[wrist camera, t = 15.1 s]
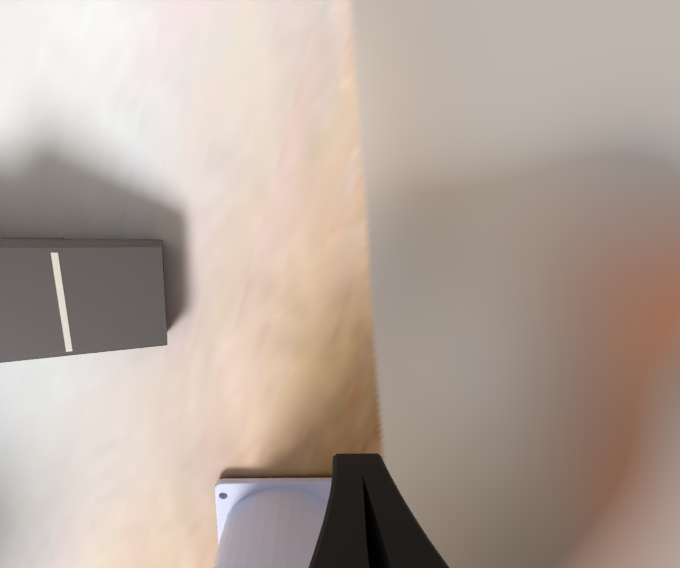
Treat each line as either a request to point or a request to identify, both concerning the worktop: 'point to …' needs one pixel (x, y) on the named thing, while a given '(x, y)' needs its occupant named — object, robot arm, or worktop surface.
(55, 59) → the worktop surface
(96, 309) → the tile
